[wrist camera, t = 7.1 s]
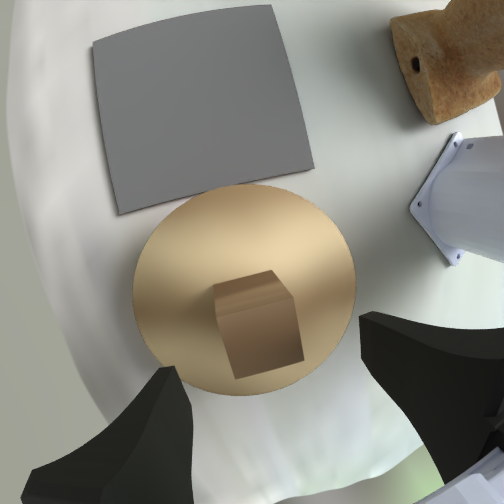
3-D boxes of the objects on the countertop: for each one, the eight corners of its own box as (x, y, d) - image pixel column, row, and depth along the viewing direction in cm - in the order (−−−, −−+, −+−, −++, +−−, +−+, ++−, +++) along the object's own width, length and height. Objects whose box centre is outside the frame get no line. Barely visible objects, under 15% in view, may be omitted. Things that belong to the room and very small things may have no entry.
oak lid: (108, 217, 14) (69, 231, 10) (332, 164, 15) (378, 158, 11) (176, 404, 17) (172, 459, 12) (356, 355, 18) (392, 397, 14)
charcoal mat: (94, 44, 16) (92, 42, 15) (269, 7, 17) (271, 4, 16) (121, 213, 19) (119, 214, 18) (312, 168, 20) (314, 168, 19)
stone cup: (448, 0, 18) (539, -44, 3) (497, 95, 21) (603, 83, 6) (348, 6, 17) (457, -93, 3) (416, 131, 20) (578, 111, 6)
